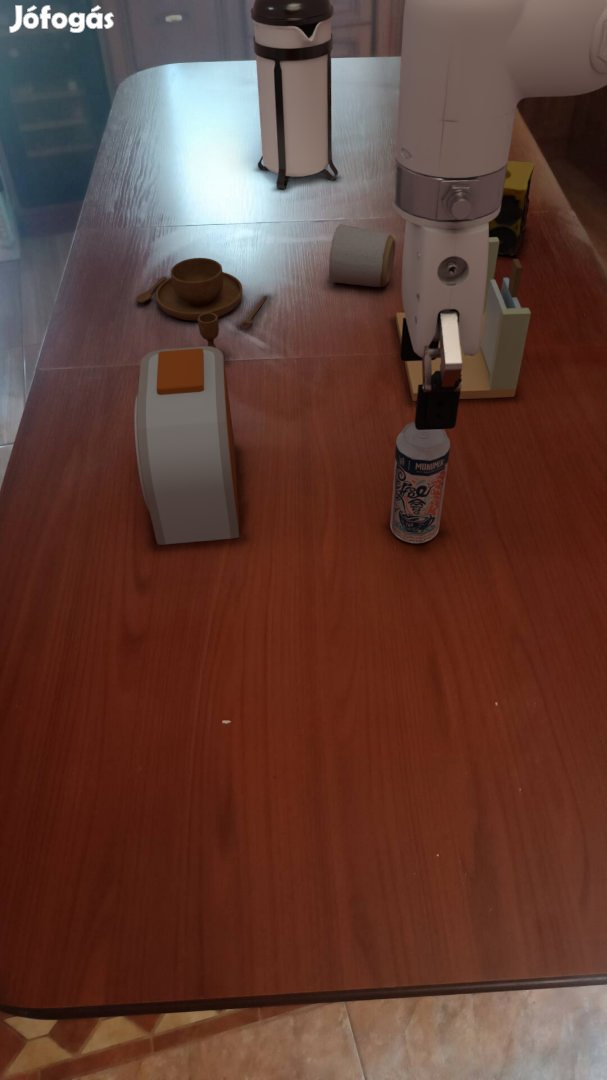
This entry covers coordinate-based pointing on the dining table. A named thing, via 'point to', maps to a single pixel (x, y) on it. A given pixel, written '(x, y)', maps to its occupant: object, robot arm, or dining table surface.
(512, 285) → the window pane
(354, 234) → the grey cylinder
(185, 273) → the place setting
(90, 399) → the dining table surface
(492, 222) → the yellow cube with holes
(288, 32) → the coffee press
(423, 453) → the beer can
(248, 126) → the dining table surface
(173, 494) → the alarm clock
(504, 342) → the bookend with square base
